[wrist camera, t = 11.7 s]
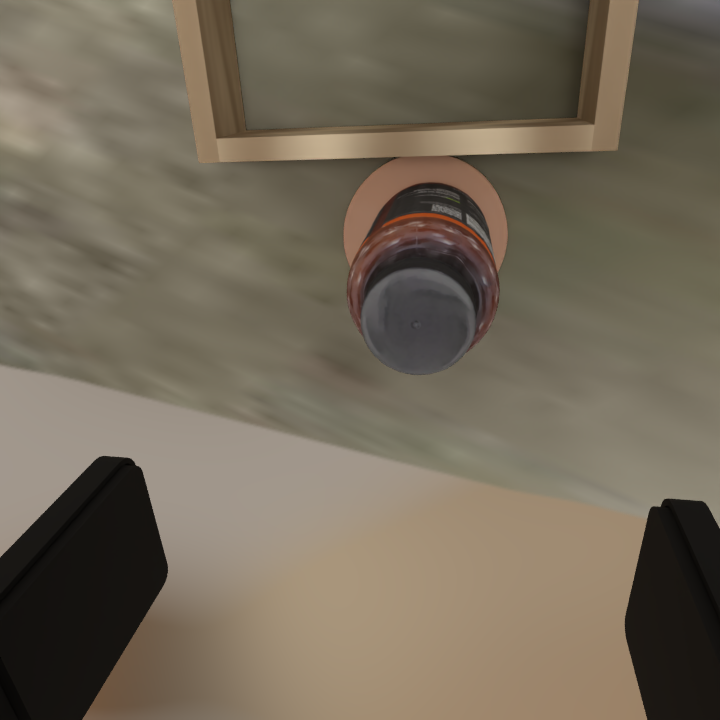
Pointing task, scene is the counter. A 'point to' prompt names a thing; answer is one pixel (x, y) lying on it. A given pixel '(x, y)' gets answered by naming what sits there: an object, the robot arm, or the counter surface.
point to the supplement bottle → (424, 279)
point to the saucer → (422, 171)
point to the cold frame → (236, 144)
